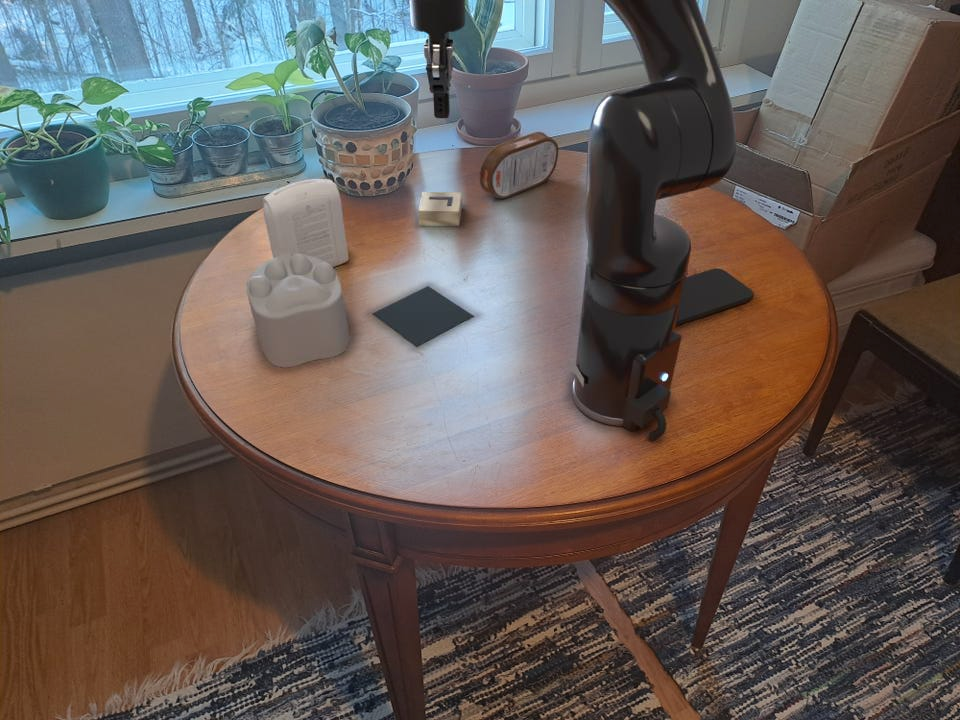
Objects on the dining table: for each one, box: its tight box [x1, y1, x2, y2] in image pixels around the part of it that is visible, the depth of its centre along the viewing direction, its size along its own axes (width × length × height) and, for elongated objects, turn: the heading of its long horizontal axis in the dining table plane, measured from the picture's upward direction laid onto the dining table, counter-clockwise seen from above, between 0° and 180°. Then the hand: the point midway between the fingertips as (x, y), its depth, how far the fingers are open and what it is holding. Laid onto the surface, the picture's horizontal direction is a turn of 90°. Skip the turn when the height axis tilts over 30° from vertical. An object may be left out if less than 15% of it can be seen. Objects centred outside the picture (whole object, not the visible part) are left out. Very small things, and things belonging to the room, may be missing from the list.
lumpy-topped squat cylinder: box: [246, 253, 351, 369], centre depth 84 cm, size 10×13×9 cm
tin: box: [479, 131, 559, 199], centre depth 112 cm, size 15×3×8 cm, turn 130°
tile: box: [417, 191, 463, 227], centre depth 107 cm, size 6×6×3 cm
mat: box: [372, 285, 474, 347], centre depth 89 cm, size 9×9×1 cm
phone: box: [675, 268, 755, 327], centre depth 90 cm, size 7×1×15 cm
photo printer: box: [262, 178, 349, 268], centre depth 93 cm, size 10×4×12 cm, turn 123°
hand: (442, 116), depth 106 cm, fingers closed
